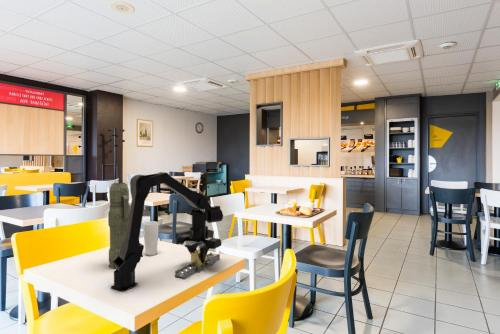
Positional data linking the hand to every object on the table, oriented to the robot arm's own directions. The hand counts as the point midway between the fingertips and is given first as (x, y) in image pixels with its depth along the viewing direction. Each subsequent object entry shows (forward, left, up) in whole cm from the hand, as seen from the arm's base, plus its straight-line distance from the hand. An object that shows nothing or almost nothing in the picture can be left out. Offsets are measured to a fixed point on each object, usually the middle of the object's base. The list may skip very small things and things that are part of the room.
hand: (199, 261), depth 127 cm
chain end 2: (+7, 0, -2) cm, 8 cm away
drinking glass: (+5, +31, -3) cm, 32 cm away
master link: (0, 0, -1) cm, 1 cm away
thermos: (-12, +32, -3) cm, 34 cm away
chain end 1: (-7, 0, -2) cm, 7 cm away
